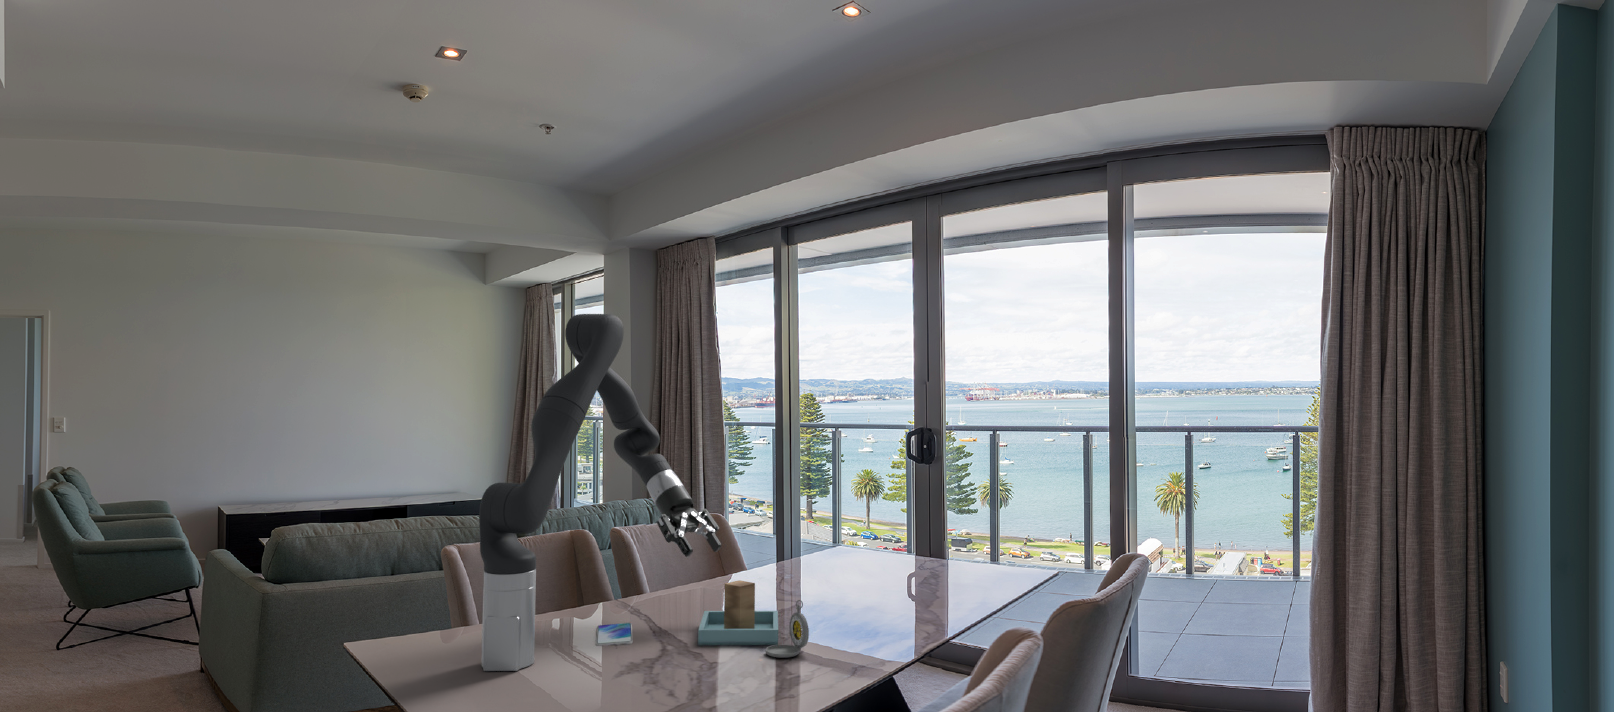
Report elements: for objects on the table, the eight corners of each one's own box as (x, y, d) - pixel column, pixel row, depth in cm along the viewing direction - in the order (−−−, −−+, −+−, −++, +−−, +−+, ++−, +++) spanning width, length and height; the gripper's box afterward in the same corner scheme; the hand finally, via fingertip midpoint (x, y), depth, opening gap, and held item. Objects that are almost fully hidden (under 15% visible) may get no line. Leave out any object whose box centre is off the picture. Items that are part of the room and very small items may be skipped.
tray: (778, 644, 176) (778, 629, 176) (698, 645, 175) (698, 630, 175) (777, 624, 192) (777, 610, 192) (704, 624, 191) (704, 610, 191)
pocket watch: (759, 656, 168) (759, 603, 169) (780, 645, 176) (781, 595, 176) (796, 662, 164) (796, 608, 165) (817, 651, 172) (817, 599, 172)
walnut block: (724, 631, 183) (724, 583, 184) (738, 627, 187) (739, 580, 187) (739, 635, 180) (740, 586, 181) (754, 631, 184) (754, 583, 184)
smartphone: (595, 644, 175) (597, 624, 189) (595, 648, 175) (597, 628, 189) (632, 641, 176) (631, 622, 191) (632, 645, 176) (631, 626, 191)
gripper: (653, 486, 192) (689, 544, 184) (700, 481, 203) (736, 537, 195) (637, 508, 195) (671, 567, 187) (684, 503, 206) (718, 558, 198)
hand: (704, 551), depth 191 cm, fingers open, 8 cm apart
